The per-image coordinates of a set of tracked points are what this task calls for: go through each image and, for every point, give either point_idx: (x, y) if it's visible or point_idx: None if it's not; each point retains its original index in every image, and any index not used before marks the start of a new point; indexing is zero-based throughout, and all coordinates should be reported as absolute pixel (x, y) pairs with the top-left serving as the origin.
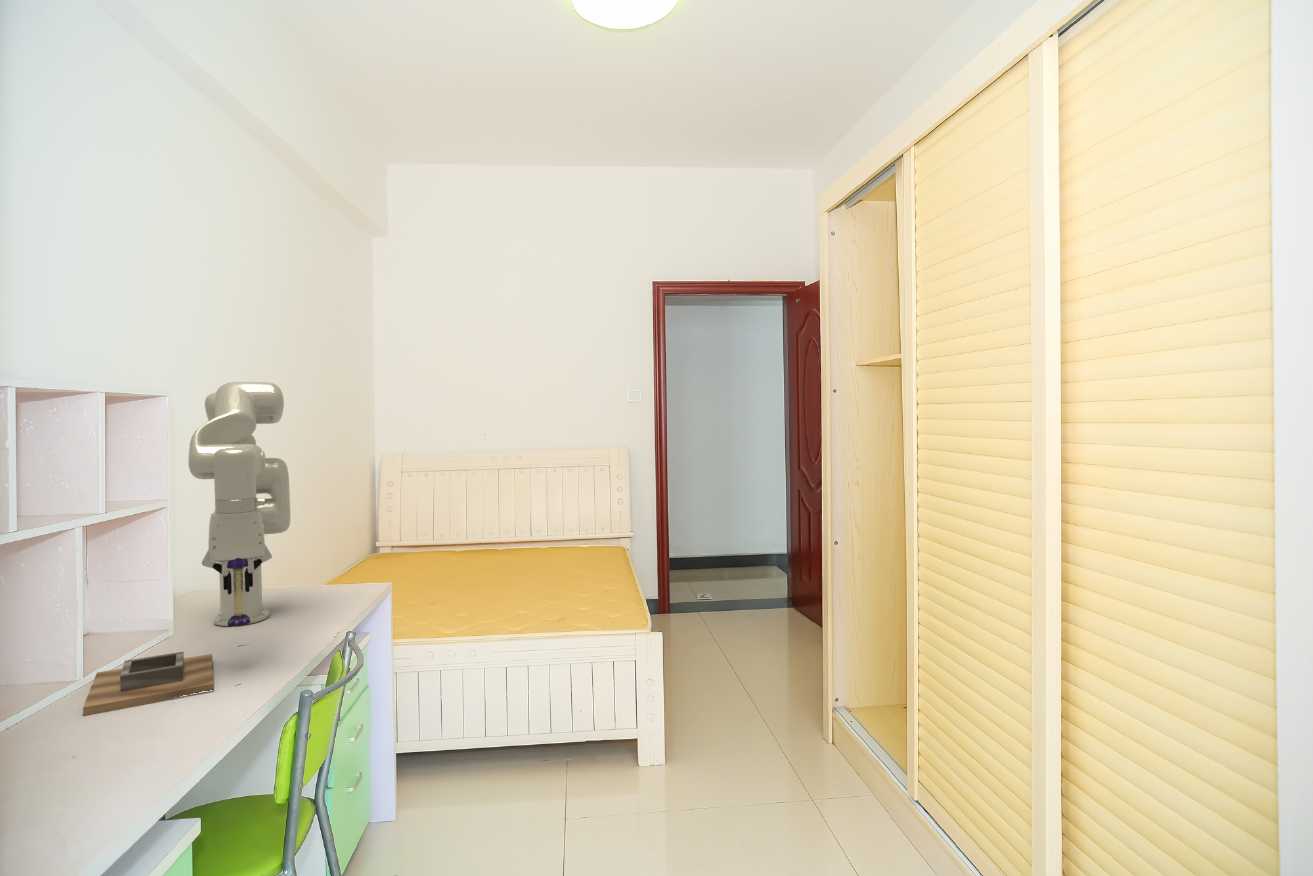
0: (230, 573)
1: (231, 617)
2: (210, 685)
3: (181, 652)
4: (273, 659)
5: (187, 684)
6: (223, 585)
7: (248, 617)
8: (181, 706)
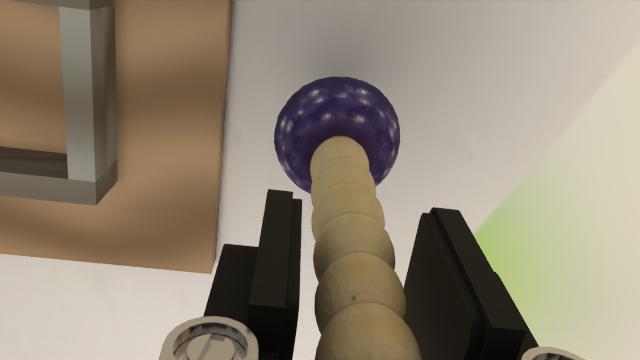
0: (290, 336)
1: (295, 151)
2: (203, 272)
3: None
4: (458, 51)
5: (133, 227)
6: (221, 256)
7: (389, 168)
8: (126, 319)
